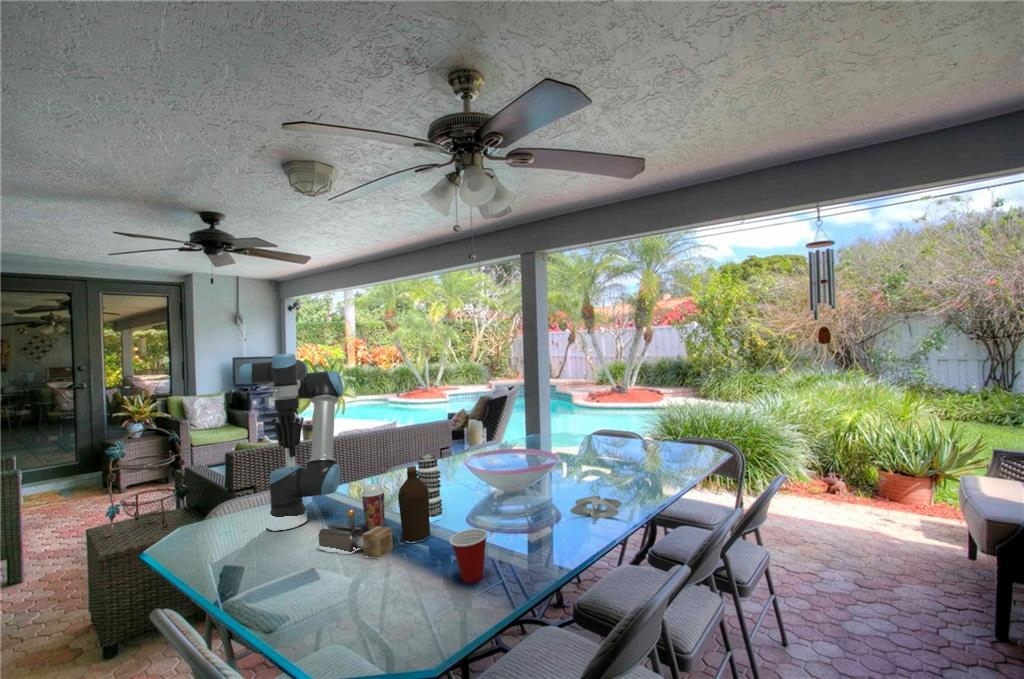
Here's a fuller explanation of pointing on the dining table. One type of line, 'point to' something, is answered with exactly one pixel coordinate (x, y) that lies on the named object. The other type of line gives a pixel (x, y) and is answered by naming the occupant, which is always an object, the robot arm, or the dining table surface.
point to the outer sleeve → (338, 537)
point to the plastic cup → (470, 553)
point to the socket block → (377, 541)
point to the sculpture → (596, 513)
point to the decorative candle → (431, 482)
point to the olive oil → (414, 507)
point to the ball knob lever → (356, 539)
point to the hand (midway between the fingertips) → (290, 466)
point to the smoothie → (373, 504)
